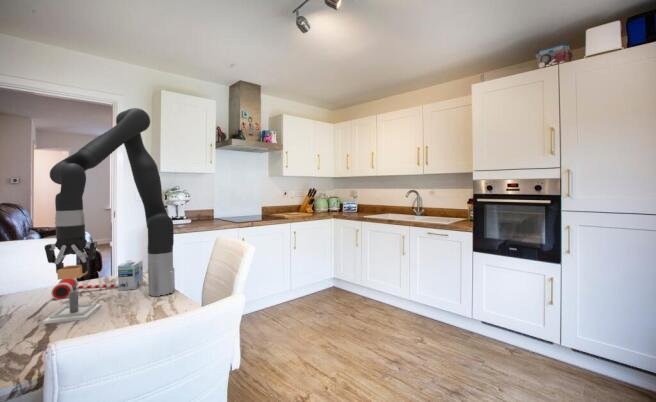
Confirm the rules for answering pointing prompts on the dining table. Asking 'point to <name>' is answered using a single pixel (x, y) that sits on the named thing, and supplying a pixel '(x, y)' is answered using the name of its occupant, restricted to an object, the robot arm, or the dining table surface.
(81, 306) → the post base
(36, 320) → the dining table surface
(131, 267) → the light bulb box
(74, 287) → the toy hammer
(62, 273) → the ring
